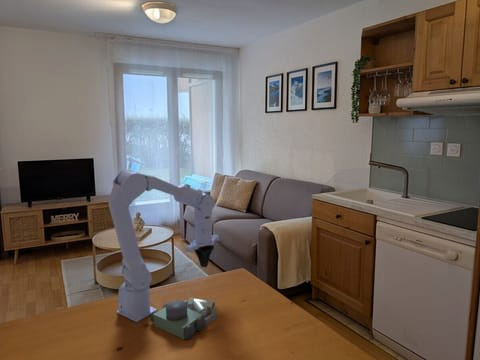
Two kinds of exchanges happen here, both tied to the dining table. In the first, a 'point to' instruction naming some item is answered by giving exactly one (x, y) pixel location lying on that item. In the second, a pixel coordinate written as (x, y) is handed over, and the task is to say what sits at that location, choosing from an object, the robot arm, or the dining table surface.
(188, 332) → the grey-green knobbed block
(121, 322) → the dining table surface
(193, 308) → the pipe fitting
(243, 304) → the dining table surface
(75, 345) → the dining table surface
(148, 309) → the robot arm
